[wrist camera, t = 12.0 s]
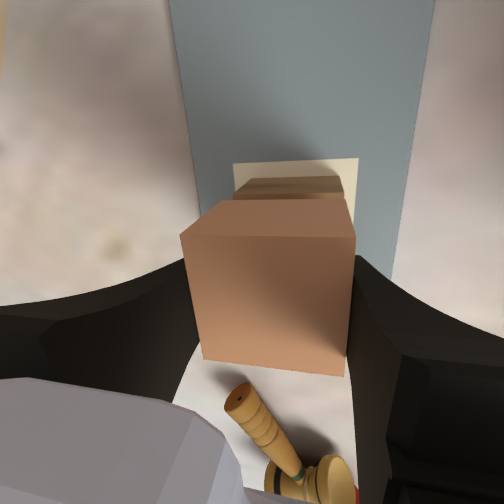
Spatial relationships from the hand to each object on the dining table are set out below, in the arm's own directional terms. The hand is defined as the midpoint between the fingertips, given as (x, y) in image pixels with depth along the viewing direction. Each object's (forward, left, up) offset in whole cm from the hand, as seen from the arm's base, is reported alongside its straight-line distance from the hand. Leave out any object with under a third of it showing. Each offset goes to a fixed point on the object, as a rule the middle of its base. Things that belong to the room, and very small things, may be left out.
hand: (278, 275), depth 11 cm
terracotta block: (0, 0, -2) cm, 2 cm away
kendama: (-17, +15, -8) cm, 24 cm away
